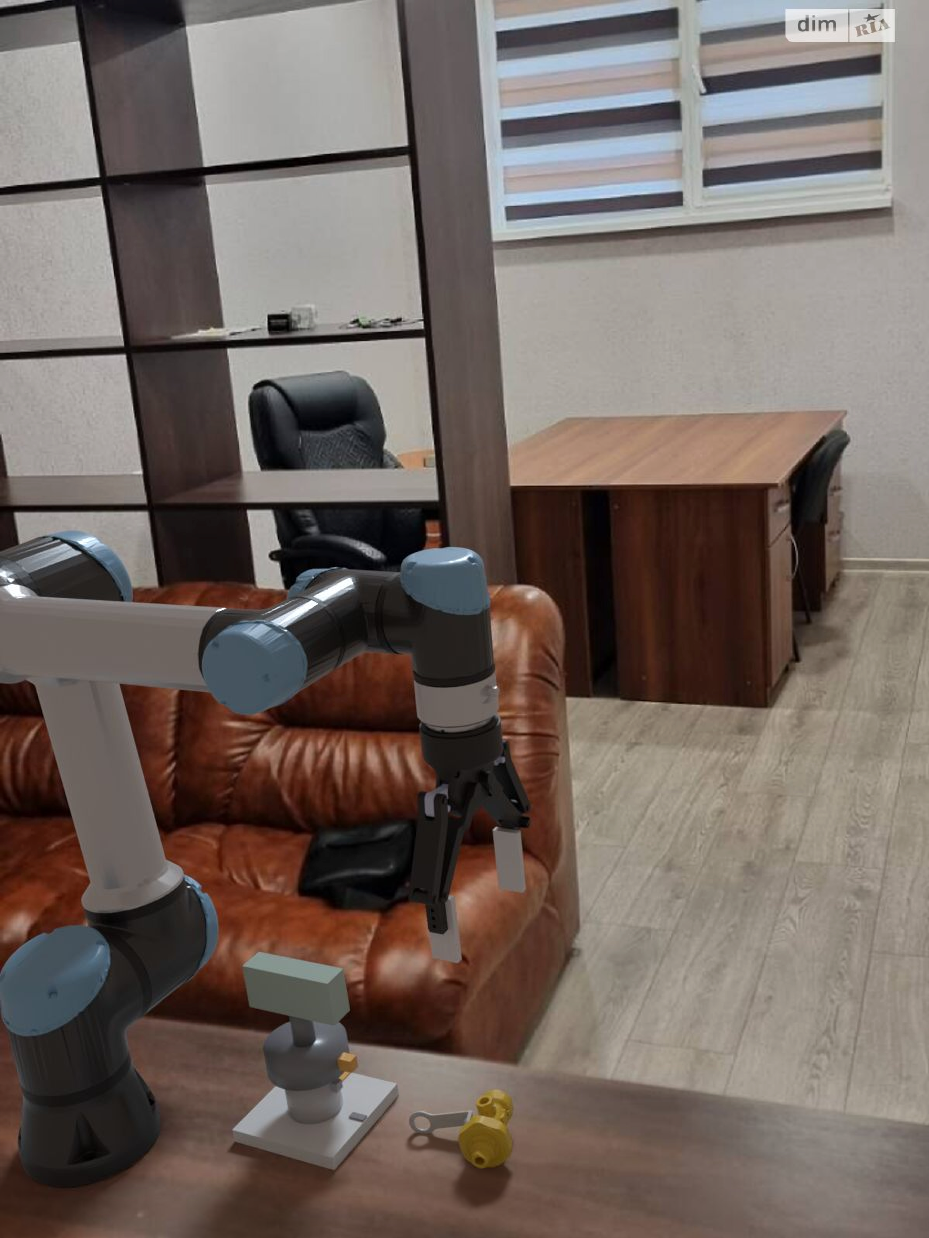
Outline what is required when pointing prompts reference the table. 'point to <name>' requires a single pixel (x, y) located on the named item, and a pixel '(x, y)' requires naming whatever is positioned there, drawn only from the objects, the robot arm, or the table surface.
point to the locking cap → (301, 1020)
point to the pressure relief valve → (478, 1128)
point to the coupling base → (320, 1135)
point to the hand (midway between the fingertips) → (481, 922)
